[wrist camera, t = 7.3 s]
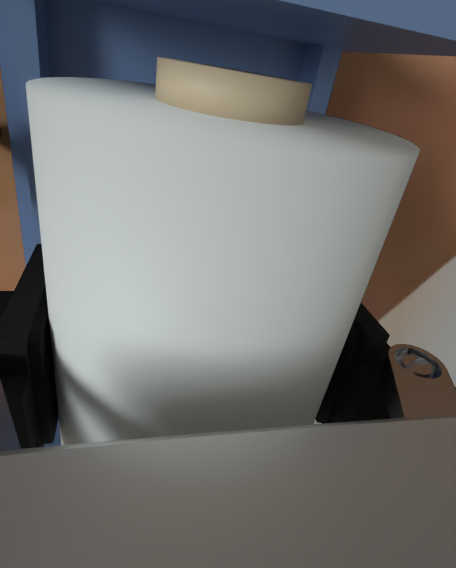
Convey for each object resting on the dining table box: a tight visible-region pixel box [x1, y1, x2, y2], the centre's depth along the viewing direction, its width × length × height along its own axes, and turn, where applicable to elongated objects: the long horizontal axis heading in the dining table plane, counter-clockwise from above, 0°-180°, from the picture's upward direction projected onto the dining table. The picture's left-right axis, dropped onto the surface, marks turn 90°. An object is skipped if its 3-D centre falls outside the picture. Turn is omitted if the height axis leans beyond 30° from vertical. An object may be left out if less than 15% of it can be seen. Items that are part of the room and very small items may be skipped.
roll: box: [25, 57, 420, 445], centre depth 9 cm, size 12×6×6 cm, turn 171°
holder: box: [0, 0, 456, 447], centre depth 13 cm, size 16×11×9 cm
